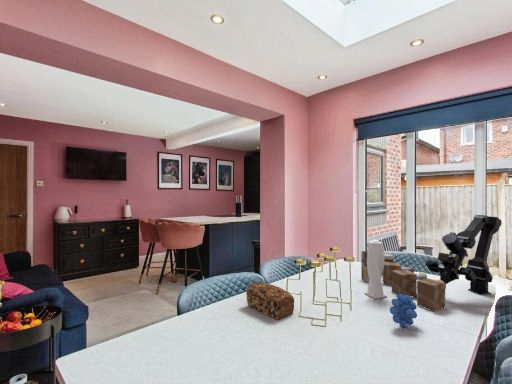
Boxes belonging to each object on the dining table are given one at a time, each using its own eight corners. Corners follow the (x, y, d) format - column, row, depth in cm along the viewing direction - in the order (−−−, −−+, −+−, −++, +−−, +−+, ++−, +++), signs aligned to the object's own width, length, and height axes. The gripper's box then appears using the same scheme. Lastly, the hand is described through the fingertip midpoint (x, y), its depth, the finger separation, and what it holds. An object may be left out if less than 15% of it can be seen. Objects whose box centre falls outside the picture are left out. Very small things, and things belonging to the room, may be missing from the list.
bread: (245, 306, 117) (245, 283, 117) (263, 300, 124) (264, 278, 124) (276, 322, 103) (277, 295, 103) (295, 313, 110) (295, 289, 110)
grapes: (400, 335, 93) (400, 299, 94) (385, 326, 100) (385, 292, 100) (426, 330, 97) (426, 296, 97) (410, 321, 103) (410, 289, 103)
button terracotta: (435, 288, 123) (435, 278, 123) (446, 292, 119) (446, 281, 119) (423, 291, 119) (423, 281, 119) (434, 295, 115) (434, 284, 115)
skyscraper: (389, 298, 126) (389, 237, 126) (376, 301, 123) (376, 238, 124) (375, 292, 134) (375, 235, 134) (362, 294, 131) (362, 235, 131)
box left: (398, 282, 150) (398, 262, 150) (401, 286, 143) (401, 266, 143) (382, 280, 153) (382, 261, 153) (384, 284, 146) (384, 264, 146)
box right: (428, 301, 122) (428, 278, 123) (445, 307, 116) (445, 282, 116) (417, 305, 119) (417, 280, 119) (433, 311, 113) (433, 285, 113)
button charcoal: (412, 273, 147) (412, 264, 147) (414, 275, 142) (414, 267, 142) (395, 272, 149) (395, 263, 149) (396, 274, 145) (396, 265, 145)
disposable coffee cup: (397, 276, 160) (397, 256, 160) (380, 276, 160) (380, 256, 160) (389, 272, 169) (389, 252, 169) (373, 272, 169) (373, 252, 169)
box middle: (407, 291, 136) (407, 270, 136) (416, 296, 129) (416, 274, 129) (391, 291, 135) (391, 270, 135) (400, 297, 128) (400, 274, 128)
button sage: (420, 280, 135) (420, 270, 135) (427, 283, 130) (427, 273, 130) (404, 280, 134) (404, 271, 134) (410, 283, 130) (410, 274, 130)
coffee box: (381, 283, 148) (381, 253, 148) (372, 284, 146) (372, 254, 146) (370, 278, 157) (370, 250, 157) (360, 279, 155) (360, 250, 155)
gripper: (427, 242, 132) (412, 268, 127) (472, 250, 115) (457, 280, 110) (437, 257, 135) (423, 283, 130) (482, 266, 119) (468, 296, 113)
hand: (441, 285), depth 121 cm, fingers closed
